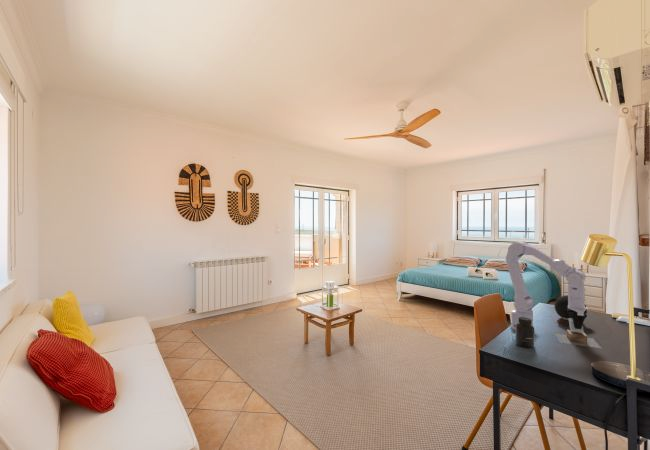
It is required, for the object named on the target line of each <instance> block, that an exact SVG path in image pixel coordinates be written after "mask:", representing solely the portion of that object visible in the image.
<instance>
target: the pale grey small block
mask: <svg viewBox="0 0 650 450" xmlns="http://www.w3.org/2000/svg"><path fill="white" fill-rule="evenodd" d="M568 319H569V325H570V327H569V330H571V331H572V332H584V333H585V331H584V327H583V325H582V328H581V329H575V327H574V323H573V318H568Z"/></svg>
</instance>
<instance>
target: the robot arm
mask: <svg viewBox="0 0 650 450" xmlns="http://www.w3.org/2000/svg"><path fill="white" fill-rule="evenodd" d="M523 256H533V257H535V258H536V259H538V260H540V261H542V262H543V263H545V264H547V265H549V268H550V270H551V271H554V272H555V273H557V275H559V276H561V277H563V278H565V279H566V281H567V283H568V285H567V295H568V308H569V309H567V311H568V313H569V315H570V318H573V323H574V327H575V329H581V328H582V325H583V324H584V322H585V319H586V318H587V316H588V314H587V313H586V314H584V311H585V310H587V311H589V308H588V307H587V306H586V307H585V305H586V303H585V302H586V300H585V290H586V289H585V282H584V281H585V280H586V274H585V272H584V271H582V270H581V269H576V268H577V267H575V266H573V267H572V266H571V265H570V264H568V263H566V261H565V260H564V259H558V258H557V259H555V258H553V257H551V256H549V255H548V254H547V253H545V252H543V251H542V250H540V249H539V248H537V247H536V246H534V245H532V244H530V243H528V242H526V241H516V242H513V243H511V244H510V245H509V246H508V247H507V252H506V256H505V261H506V262H505V263H506V266H507V269H508V273H509V276H510V280H511V283H512V287H513V290H514V296H513V299H514V300H513V301H514V303H513V306H514V309H515V310H514V309H513V310H512V309H511V311H510V326H511V325H512V326H511V329H512V330H514V331H516V324H517V323H519V322H518V318H519V317H526V318H530V319H531V320H532V324H531V325H532V326H533V327H534V310H533V308H534V306H535V301H534V300H533V299H532V297H531V295H530V293H529V292H528V291H527V288H526V283H525V280H524V276H523V273H522V271H521V266H520V262H519V260H520V259H521V258H522V257H523ZM534 333H536V331H535V329H534Z"/></svg>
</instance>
